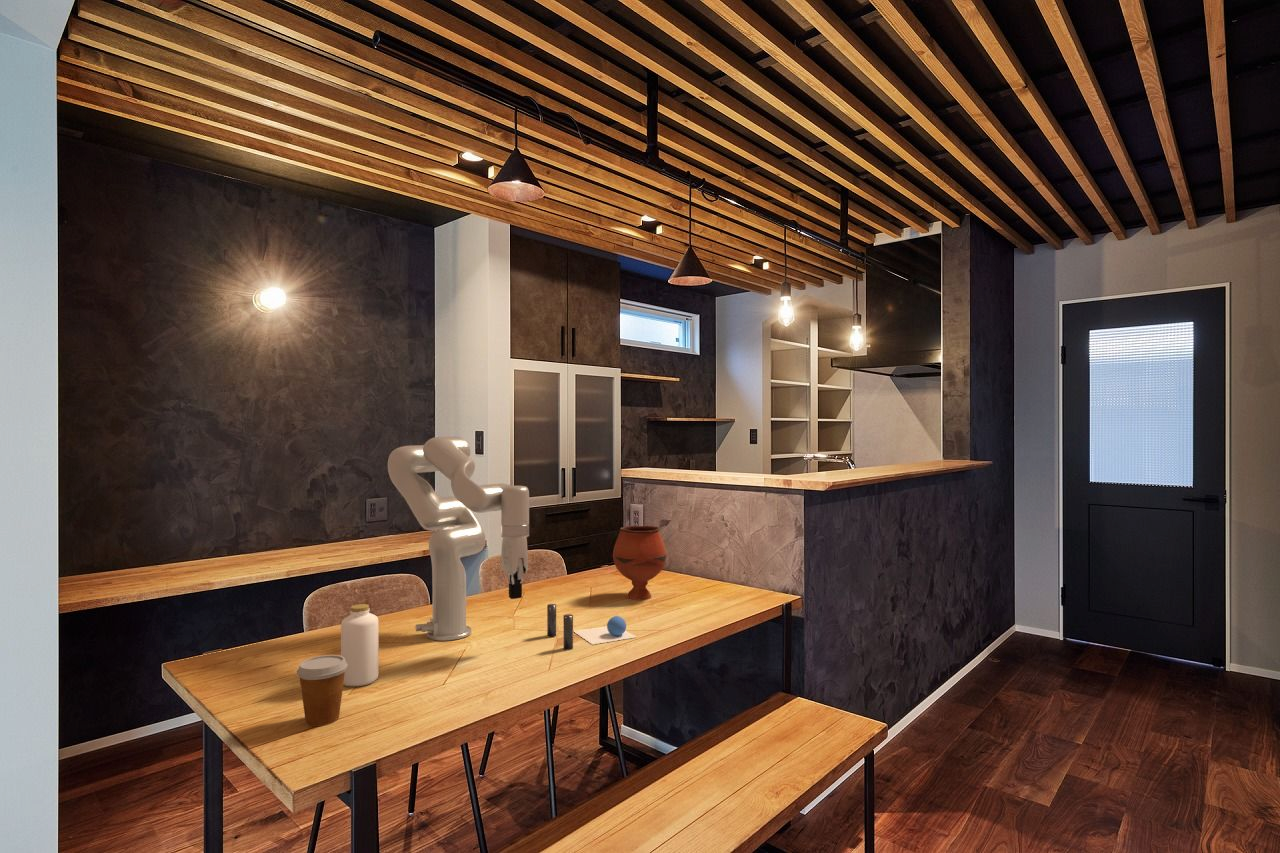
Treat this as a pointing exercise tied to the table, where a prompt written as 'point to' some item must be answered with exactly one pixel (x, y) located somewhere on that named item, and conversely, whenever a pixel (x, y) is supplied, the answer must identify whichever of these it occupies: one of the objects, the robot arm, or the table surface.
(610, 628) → the ball
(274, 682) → the table surface
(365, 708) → the table surface
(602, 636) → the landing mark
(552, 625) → the post
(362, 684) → the potion bottle
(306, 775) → the table surface
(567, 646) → the post
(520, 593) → the robot arm
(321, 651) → the table surface
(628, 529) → the goblet
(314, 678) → the disposable coffee cup
